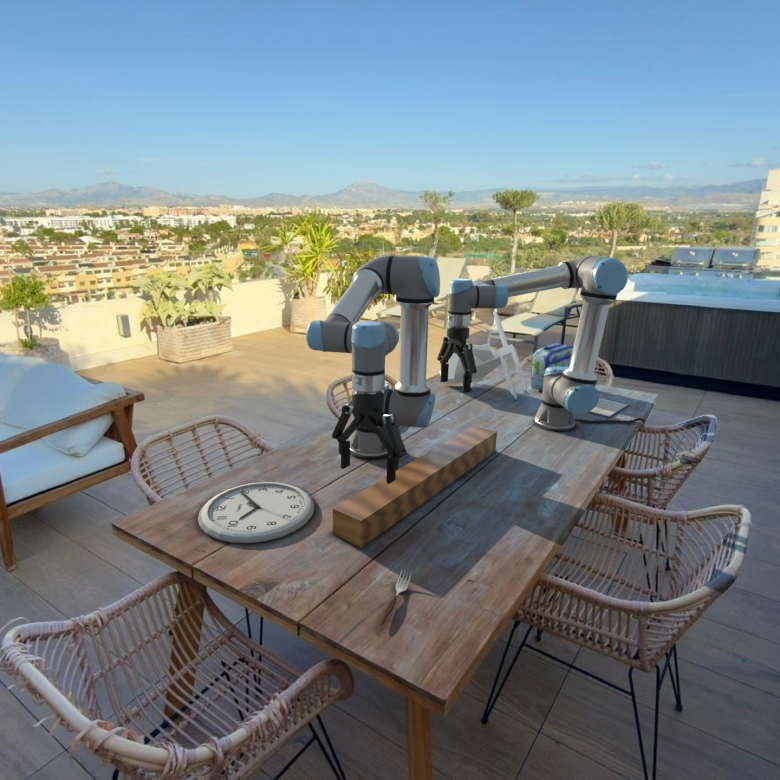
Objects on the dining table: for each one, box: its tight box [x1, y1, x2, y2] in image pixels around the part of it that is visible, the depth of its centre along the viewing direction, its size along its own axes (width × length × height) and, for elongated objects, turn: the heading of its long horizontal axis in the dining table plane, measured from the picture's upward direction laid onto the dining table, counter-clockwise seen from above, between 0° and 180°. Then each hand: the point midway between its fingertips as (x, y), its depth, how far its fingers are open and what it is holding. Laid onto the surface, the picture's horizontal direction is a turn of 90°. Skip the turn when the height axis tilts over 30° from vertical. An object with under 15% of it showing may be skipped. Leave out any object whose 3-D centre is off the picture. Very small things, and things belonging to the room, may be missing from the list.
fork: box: [379, 570, 413, 627], centre depth 106 cm, size 3×16×2 cm, turn 160°
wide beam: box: [332, 425, 498, 548], centre depth 153 cm, size 72×9×7 cm, turn 143°
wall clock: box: [197, 481, 315, 544], centre depth 139 cm, size 30×2×30 cm
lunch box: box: [530, 343, 574, 391], centre depth 249 cm, size 26×11×21 cm, turn 134°
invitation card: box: [588, 397, 629, 418], centre depth 226 cm, size 21×1×15 cm
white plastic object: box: [438, 310, 531, 400], centre depth 245 cm, size 37×45×31 cm
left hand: (367, 474), depth 126 cm, fingers open, 13 cm apart
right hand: (454, 386), depth 181 cm, fingers open, 13 cm apart
